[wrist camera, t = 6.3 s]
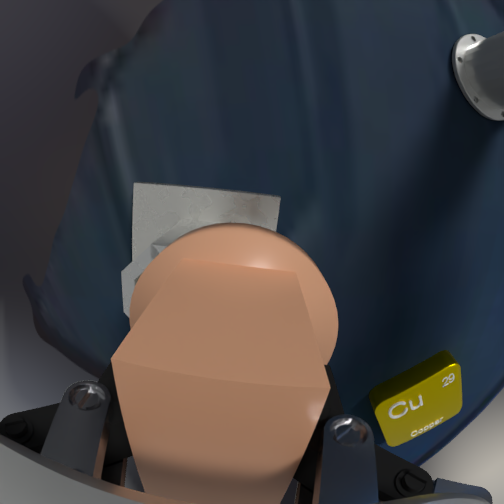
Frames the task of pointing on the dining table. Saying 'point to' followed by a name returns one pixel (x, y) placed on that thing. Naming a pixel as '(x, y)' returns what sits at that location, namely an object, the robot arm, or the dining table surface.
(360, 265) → the dining table surface
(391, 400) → the element tile
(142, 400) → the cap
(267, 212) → the hex socket plate
